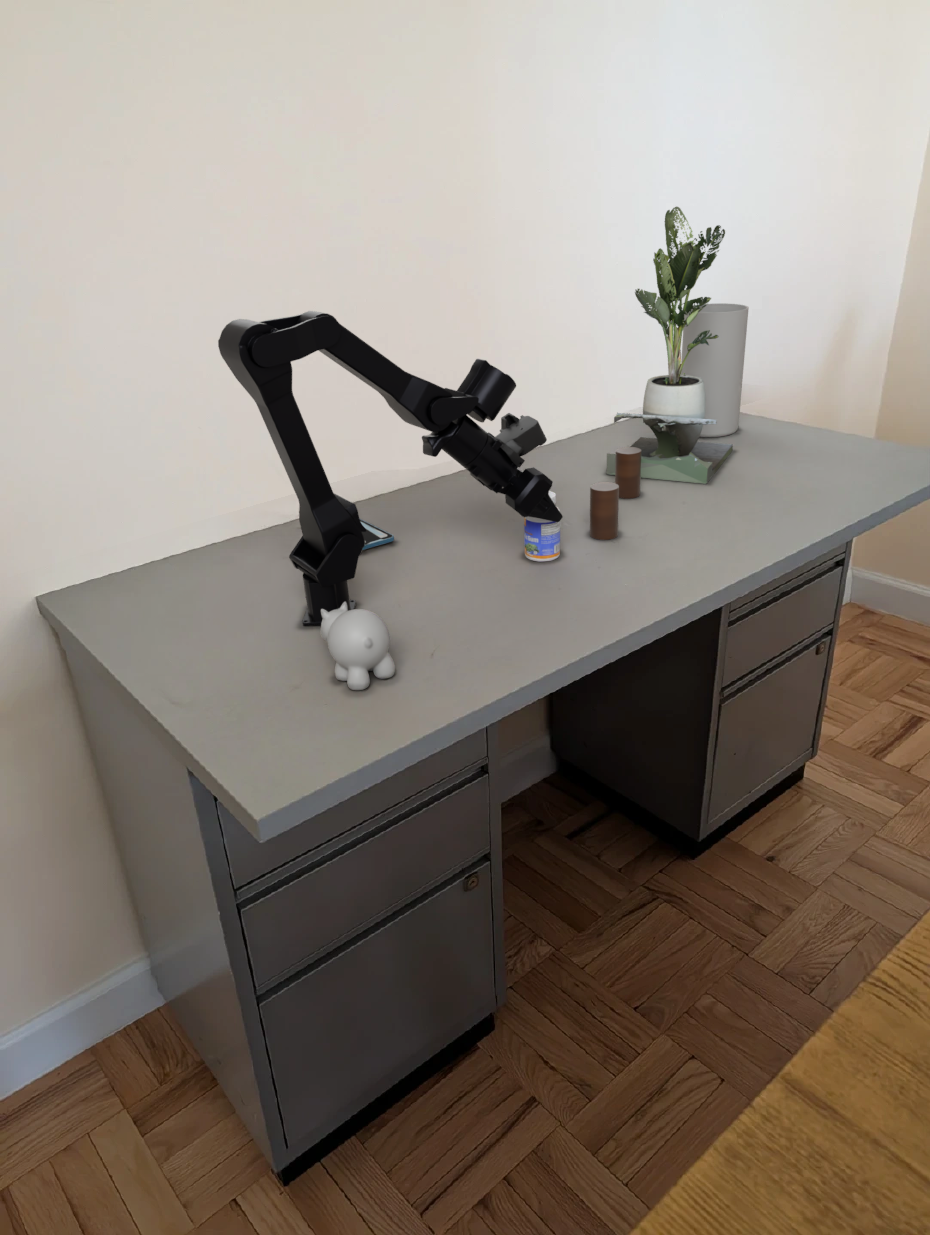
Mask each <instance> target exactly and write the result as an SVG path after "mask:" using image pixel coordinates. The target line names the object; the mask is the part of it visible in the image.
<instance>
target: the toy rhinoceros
mask: <svg viewBox="0 0 930 1235" xmlns="http://www.w3.org/2000/svg"><path fill="white" fill-rule="evenodd" d="M321 615H322V618H323V620H322V623H321V625H320V629H319V631H320V632H319V633H320V636H321V638H322V640H324V641H325V642H326V643H327V648H328V651H329V654H330V656H331V657H332V658H333V660H334V661H335V664H334V675H335V678H336V679H337V681H342V682H346V683H347V687H348V688H349V689H350V690H352V691H363V690H365V689H367V688H368V687H369V686H370V683H371V680H370V675H369V672H373V675H374V676H375V678H377V679H379V680H383V679H389V678H392V677H393V676H394V674H395V673H396V665H395V662H394V660H393V657H392V656H391V654H390V653H389V648H390V645H391V636H390V631H389V627H388V625H387V624H386V622H385V621H384V619H383V618H382V617H381V616H379V615H378V614H377V613H375V612H373V611H371V610H369V609H364V608H355V609H353V610H349V611H348V607H347V603H346V601H345V602H343V604H342V606H341V607H340V608H339V609H336V610H332V611H330V612H328V611H326V610H324V609H321Z"/></svg>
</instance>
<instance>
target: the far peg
mask: <svg viewBox="0 0 930 1235" xmlns="http://www.w3.org/2000/svg"><path fill="white" fill-rule="evenodd" d="M615 454H616V456H615V475H614V483H616V484H618V485H619V499H624V500H625V499H626V500H628V499H637V498H638V497H640V495H641V449H639V448H636V447H630V446H622V447H619V448H616V449H615Z"/></svg>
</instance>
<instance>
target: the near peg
mask: <svg viewBox="0 0 930 1235" xmlns="http://www.w3.org/2000/svg"><path fill="white" fill-rule="evenodd" d="M619 506H620V498H619V485H618V484H616V483H615V482H611V481H598V482H595V483H592V484H591V485H590V486H589V536H590V538H592V539H595V540H601V541H608V540H613V539H615V538H617V537H618V535H619V509H620V508H619Z"/></svg>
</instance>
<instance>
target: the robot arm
mask: <svg viewBox="0 0 930 1235" xmlns="http://www.w3.org/2000/svg"><path fill="white" fill-rule="evenodd" d="M217 343H218V344H217V345H218V351H219V353H220V354H219V355H220V356H221V358H222V359H223V361H224V362H225V364H226V365H227V367H228V369H229V370H230V371H231V373H232V374H233V376H234V377H235V379H236V380H237V381H238V383H239V384H240V385H241V386H242V387H243V389H244V390H245V391H246V393H248V394H249V396H250V397H251V398H252V400H253V401H254V403H255V404H256V406H257V409H258V411H259V413H260V415H261V418H262V420H263V422H264V425H265V427H266V429H267V431H268V434H269V437H270V439H271V440H272V443H273V444H274V447H275V450H276V452H277V454H278V456H279V459H280V462H281V464H282V466H283V468H284V471H285V473H286V474H287V476H288V479H289V481H290V483H291V484H290V485H291V486H292V488H293V491H294V493H295V495H296V497H297V499H298V503H299V505H298V506H299V508H298V513H299V514H298V521H299V526H300V529H301V534H302V536H301V537H300V538H299V540H298V541H297V543H296V544H295V546H294V547H293V549H292V550H291V552H290V554H289V555H288V557H289V560H290V561H291V563H292V565H293V567H294V568H295V569H296V570H299V571H301V572H302V580H303V588H304V596H305V602H306V610H305V613H304V616H303V618H302V621H301V623H302V626H305V627H309V626H321V623H322V620H323V618H322V615H321V609H324V610H326V611H328V612H330V611H332V610H336V609H339V608H340V607H341V606H342V604H343V602H345V601H346V603H347V607H348V611H349V610H353V609H356V606H357V601H356V599H350V591H349V585H348V581H349V580H353V579H354V578H355V576H356V572H357V568H358V567H357V566H358V562H359V557H360V555H362V552H363V550H362V549H363V548H364V546H365V539H364V535H363V533H362V532H366V531H367V529H366V528H365V527H364V526H363V525H362V523H361V522H360V519H361V518H360V515H359V510H358V508H357V506H356V504H355V502H354V503H353V502H352V501H350V500H348V499H346V498H344V497H343V496H340V495H338V494H336V493H334V490H333V488H332V487H331V484H330V481H329V478H328V476H327V474H326V472H325V469H324V467H323V464H322V462H321V459H320V457H319V455H318V452H317V449H316V447H315V445H314V443H313V440H312V438H311V435H310V432H309V430H308V427H307V425H306V423H305V420H304V418H303V415H302V413H301V410H300V408H299V406H298V403H297V401H296V399H295V396H294V393H293V366H292V362H295V361H298V360H301V359H303V358H305V357H308V356H309V355H311V354H314V353H315V352H319V353H321V354H323V355H324V356H326V357H327V358H328V359H330V360H331V361H333V362H334V363H336V364H337V365H339V366H340V367H341V368H343V369H344V370H346V371H347V372H349V373H350V374H352V375H353V376H355V377H356V378H357V379H358V380H360V381H362V382H363V383H364V384H366V385H368V386H369V387H371V388H372V389H373V390H375V391H376V392H378V394H380V395H381V397H382V398H383V399H384V400H385V402H386V403H387V405H388V406H389V408H390V409H391V410H392V411H393V412H394V413H395V414H396V415H397V416H398V417H399V418H400V419H401V420H402V421H403V422H404V423H407V424H408V425H411V426H414V427H417V428H420V429H423V430H426V431H428V432H431V433H428V434H427V435H425V434H424V435H422V436H421V440H422V454H423V455H426V456H430V457H432V458H433V457H435V458H436V457H437V456H438V455H439V454H440V452H441V451H444V452H445V453H446V454H447V455H448V456H449V457H451V458H452V459H453V460H454V461H456V462H457V463H458V464H459V465H460V466H462V467H463V468H464V469H465V470H467V471H468V472H469V475H470V476H471V477H472V478H473V479H475V480H476V481H478V482H479V483H480V484H481V485H483V486H484V487H485V488H487V489H488V490H490V491H492V492H494V493H495V494H500V495H501V494H502V495H504V496H505V504H506V505H508V506H509V507H510V508H512V509H513V510H514V511H515V512H516V513H517V514H519V515H520V516H521V517H523V518H524V517H534V518H540V519H545V520H549V521H554V522H559V521H560V522H561V520H563V517H564V516H563V514H562V513H561V510H560V509H559V510H560V511H559V510H558V508H559V507H558V506H557V505H556V504H554V502H553V501H552V499H551V498H550V496H549V491H551V489H552V487H553V482H554V480H552V479H550V478H549V477H548V476H547V475H546V474H545V473H543V472H542V471H540V470H539V469H537V468H535V467H534V466H533V467H528V468H527V467H526V468H524V470H523V471H522V470H521V469H520V468H521V467H522V465H523V464H524V463H525V462H526V460H525V459H524V458H523V457H524V456H525V455H527V454H528V453H530V452H532V451H533V450H534V449H536V448H538V447H539V446H543V445H545V443H546V442H547V441H548V439H547V437H546V434H545V432H544V431H543V428H542V427H541V424H540V423H539V421H538V420H537V419H536V418H534V417H532V416H530V415H523V414H522V415H520V416H519V417H520V418H518V417H517V416H515V415H514V414H512V413H511V412H508V413H506V414H504V415H503V416H502V417H500V428H501V429H499V433H498V434H497V435H496V436H495V435H493V434H492V433H491V432H489V431H486V430H485V429H483V427H481V426H480V425H479V424H477V422H479V423H482V424H483V423H485V421H486V420H489V421H490V422H493V421H494V420H496V418H497V417H498V415H499V413H500V412H501V410H502V408H503V407H504V406H505V404H506V403H507V401H508V399H509V398H510V397H511V396H512V393H513V392H514V391H515V389H516V388H517V383H516V381H515V380H514V379H513V377H512V376H510V374H507V373H505V372H504V371H502V370H500V369H499V368H498V367H496V366H494V365H492V364H490V363H489V362H488V361H487V359H481V358H475V360H474V362H473V363H472V365H471V367H470V370H469V372H468V373H467V375H466V376H465V378H464V379H463V381H462V382H461V384H460V385H459V387H458V388H457V390H455V389H452V388H448V387H442V386H439V385H438V384H436V383H433V382H431V381H429V380H426V379H424V378H422V377H418V376H416V375H414V374H411V373H409V372H408V371H405V370H404V369H402V368H401V367H400V366H398V365H397V364H396V363H394V362H393V361H391V360H390V359H389V358H387V357H386V356H385V355H383V354H382V353H381V352H379V351H378V350H376V349H375V348H374V347H372V346H371V345H369V343H367V342H365V341H364V340H363V339H362V338H360V337H359V336H357V335H356V334H354V333H353V332H352V331H351V330H350V329H348V328H346V327H345V326H344V325H342V324H341V323H340V322H339V321H338V320H337V318H335V316H334V315H332V314H330V313H326V312H322V311H316V310H308V311H304V313H303V312H302V313H300V314H296V315H291V316H285V317H279V318H271V319H265V320H260V321H255V320H251V319H247V318H237V319H235V320H231V321H230V322H229V323H227V324H226V325H225V326H224V328H223V329H222V330H221V333H220V336H219V338H218V340H217ZM474 420H475V421H477V422H475V421H474ZM556 506H557V507H558V508H557V507H556ZM359 518H360V519H359Z"/></svg>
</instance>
